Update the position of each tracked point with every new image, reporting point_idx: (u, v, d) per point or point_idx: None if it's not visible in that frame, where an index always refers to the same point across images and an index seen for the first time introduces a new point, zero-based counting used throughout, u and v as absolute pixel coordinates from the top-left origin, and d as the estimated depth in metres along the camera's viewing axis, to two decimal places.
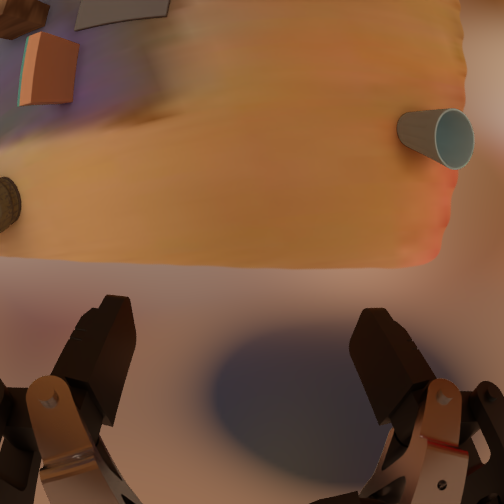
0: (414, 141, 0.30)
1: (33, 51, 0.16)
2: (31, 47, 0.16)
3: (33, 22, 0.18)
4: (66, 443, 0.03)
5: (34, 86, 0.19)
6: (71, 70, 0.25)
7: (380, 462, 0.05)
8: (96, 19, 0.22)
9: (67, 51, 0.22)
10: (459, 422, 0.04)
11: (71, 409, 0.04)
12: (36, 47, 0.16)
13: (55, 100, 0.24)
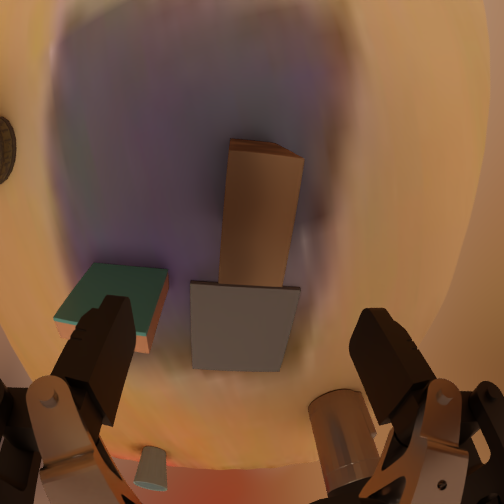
0: (142, 462, 0.45)
1: None
2: None
3: None
4: (66, 443, 0.03)
5: None
6: None
7: (380, 462, 0.05)
8: (199, 311, 0.31)
9: None
10: (459, 422, 0.04)
11: (71, 409, 0.04)
12: None
13: None
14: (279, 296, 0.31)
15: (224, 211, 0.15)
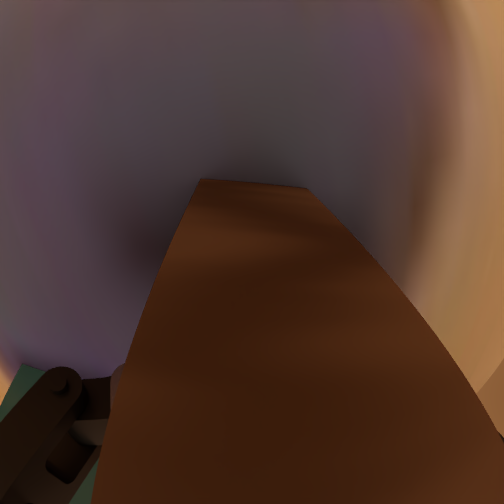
0: None
1: None
2: None
3: None
4: None
5: None
6: None
7: None
8: None
9: None
10: None
11: None
12: None
13: None
14: None
15: None
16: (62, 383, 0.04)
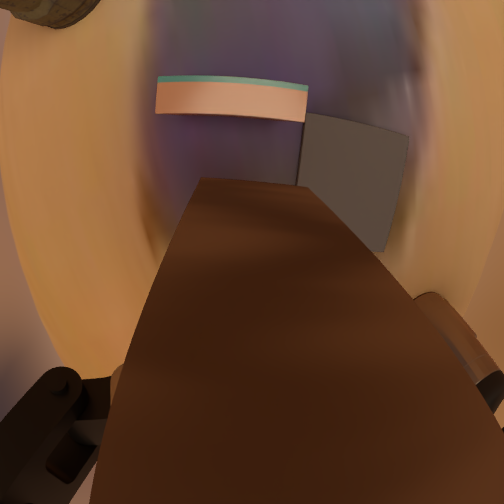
0: None
1: (264, 107, 0.15)
2: (276, 100, 0.15)
3: None
4: None
5: (188, 113, 0.15)
6: (232, 116, 0.23)
7: None
8: (312, 150, 0.25)
9: None
10: None
11: None
12: (271, 112, 0.15)
13: (175, 114, 0.19)
14: (392, 140, 0.25)
15: None
16: (62, 383, 0.04)
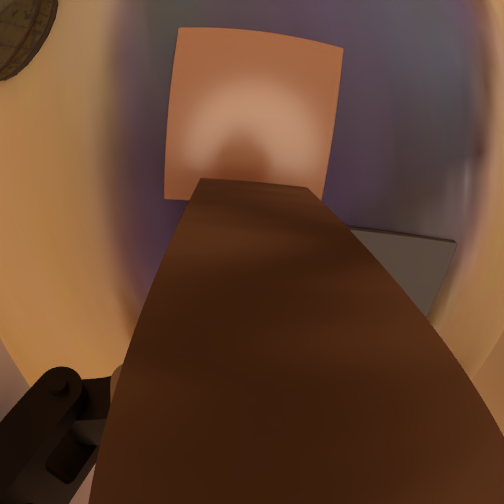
0: None
1: None
2: None
3: None
4: None
5: (213, 36, 0.11)
6: None
7: None
8: None
9: (301, 158, 0.15)
10: None
11: None
12: None
13: (171, 117, 0.13)
14: (438, 251, 0.20)
15: None
16: (62, 383, 0.04)
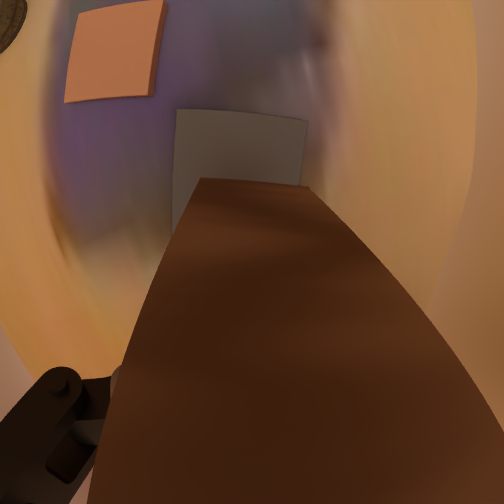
0: None
1: None
2: None
3: None
4: None
5: (94, 14, 0.15)
6: (105, 84, 0.19)
7: None
8: (185, 147, 0.24)
9: (134, 65, 0.19)
10: None
11: None
12: None
13: (70, 59, 0.17)
14: (282, 127, 0.24)
15: None
16: (62, 383, 0.04)
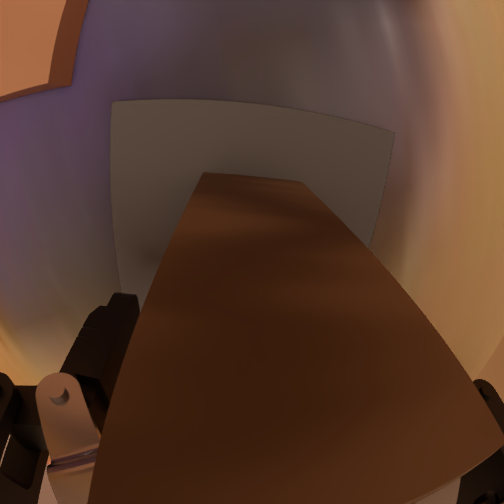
0: None
1: None
2: None
3: None
4: (75, 440, 0.03)
5: None
6: None
7: None
8: (132, 186, 0.11)
9: (33, 28, 0.06)
10: None
11: (82, 406, 0.04)
12: None
13: None
14: (347, 142, 0.10)
15: None
16: None
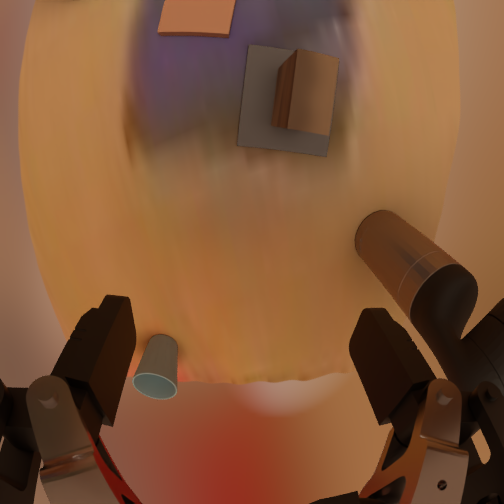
0: (147, 352, 0.43)
1: None
2: None
3: (274, 125, 0.30)
4: (66, 443, 0.03)
5: None
6: (195, 23, 0.25)
7: (380, 462, 0.05)
8: (254, 70, 0.30)
9: (219, 14, 0.24)
10: (459, 422, 0.04)
11: (71, 409, 0.04)
12: None
13: (165, 3, 0.23)
14: None
15: (294, 81, 0.21)
16: None
